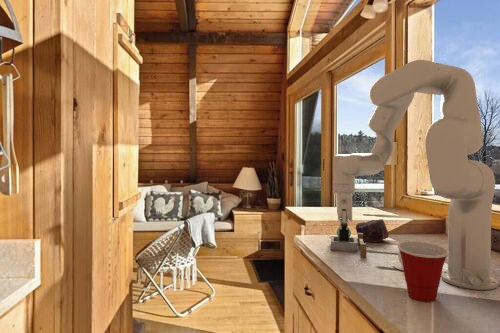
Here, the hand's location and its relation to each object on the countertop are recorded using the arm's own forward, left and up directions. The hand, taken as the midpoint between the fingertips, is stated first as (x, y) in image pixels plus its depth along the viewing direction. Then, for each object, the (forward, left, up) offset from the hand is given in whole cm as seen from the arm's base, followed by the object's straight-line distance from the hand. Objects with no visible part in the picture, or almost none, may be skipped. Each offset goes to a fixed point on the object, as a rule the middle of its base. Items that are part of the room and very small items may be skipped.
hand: (343, 238), depth 128 cm
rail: (-3, -6, -3) cm, 8 cm away
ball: (0, 0, 0) cm, 0 cm away
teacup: (-19, -19, -4) cm, 27 cm away
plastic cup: (-43, -17, -4) cm, 46 cm away
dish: (0, 0, -3) cm, 3 cm away
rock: (+13, -11, -4) cm, 17 cm away
